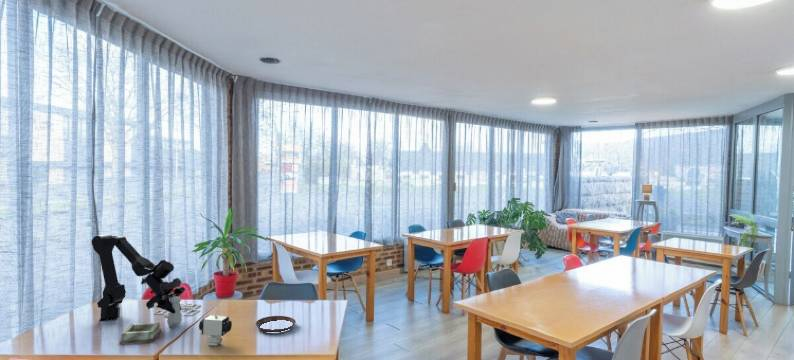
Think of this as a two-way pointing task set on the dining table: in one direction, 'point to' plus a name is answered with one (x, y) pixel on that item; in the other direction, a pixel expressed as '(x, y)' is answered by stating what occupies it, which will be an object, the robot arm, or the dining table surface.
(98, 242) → the robot arm
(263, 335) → the dining table surface
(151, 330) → the holder
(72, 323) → the dining table surface
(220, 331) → the pneumatic valve
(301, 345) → the dining table surface
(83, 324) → the dining table surface
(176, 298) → the grey round-headed cylinder
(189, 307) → the floor plan model
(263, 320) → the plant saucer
